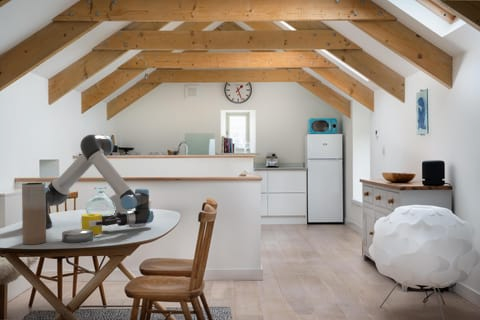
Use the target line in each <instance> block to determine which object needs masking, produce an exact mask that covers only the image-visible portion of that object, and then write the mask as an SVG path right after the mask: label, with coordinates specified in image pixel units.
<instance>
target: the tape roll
mask: <svg viewBox="0 0 480 320" xmlns="http://www.w3.org/2000/svg"><path fill="white" fill-rule="evenodd" d="M102 216H103V214H101V213H86V214H85V213H83V214H82V215H81V218H82V223H81V229H88V230H92V231H93V236H94V235H101V234H102V233H103V225H102V226H92V227H89V221H96V220H102Z"/></svg>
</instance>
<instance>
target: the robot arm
mask: <svg viewBox="0 0 480 320" xmlns="http://www.w3.org/2000/svg"><path fill="white" fill-rule="evenodd" d="M79 146H80V150H81V154H80V155H79V156H78V157H77V158H76V159H75V160H74V161H73V162H72V163H71V164H70V165H69V167H68V168H67V169H66V170H65V171H64V172H63V173H62V174H61V175H60V176H59V177H58V179H55V178H54V179H52V181H51V182H50V183H49V184H45V199H46V230H47V229H51V228H52V227H53V221H52V218H51V216H50V213H49V209H50V207H55V206H60V205H62V204H64V203H65V202H66V201H67V200H68V198H69V194H70V189H72V187H73V186H74V185H75V184H76V183H77V182H78V180H80V179H81V177H83V175H84V174H86V173H87V171H88V170H89V169H90V168H91V167H92V166H94V167H95V169H96V170H97V171H98V172H99V174H100V175H101V176H102V178H103V179H104V181H106V183H107V184H108V186H110V187H111V188H110V189H112V190H113V192H114V194H115V193H116V194H117V195H118V197H119V198H120V199H121V206H122V207H123V208H124V209H132V211H126V212H118V213H117V215H116V216H114V215H111V216H107V215H102V220H96V221H89V227H92V226H102V227H103V226H105V227H107V226H111V225H117V226H118V227H123V226H129V227H131V226H133V225H144V224H150V223H152V222H153V221H154V217H155V215H154V211H153V209H149V200H150V193H149V192H150V191H149V189H148V188H144V187H143V188H135V190H134V191H133V190H132V188H131V187H130V185H128V183H127V182H126V181H125V180H124V179H123V177H122V176H121V174H120V173H119V172H118V171H117V169H116V168H115V167H114V165H113V164H112V163H111V162H110V160H109V159H108V158H107V156H109V155H111V154H112V152H113V151H114V142H113V140H112V139H111V137H109V136H108V135H105V134H88V135H87V134H86V136H84V137H83V138H82V139H81V141H80V145H79ZM133 209H134V210H133ZM80 221H81V223H80V224H82V217H81V219H80ZM21 227H22V230H23V225H21Z"/></svg>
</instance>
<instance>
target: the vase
mask: <svg viewBox="0 0 480 320" xmlns="http://www.w3.org/2000/svg"><path fill="white" fill-rule="evenodd" d="M45 185H46V182H23V183H21V208H22V210H21V216H22V217H21V218H22V219H21V221H22V222H21V223H22V225H23V229H22V244H23V245H28V246H29V245H30V246H34V245H40V244H41V245H42V244H44V243H46V241H47V229H46V199H45ZM22 225H21V226H22Z"/></svg>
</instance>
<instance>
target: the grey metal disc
mask: <svg viewBox="0 0 480 320" xmlns="http://www.w3.org/2000/svg"><path fill="white" fill-rule="evenodd" d="M93 240H94V235H93V231H92V230H88V229H82V228H79V229H70V230H64V231H63V232H62V233H61V241H62V243H67V244H68V243H69V244H79V243H87V242H91V241H93Z"/></svg>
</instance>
